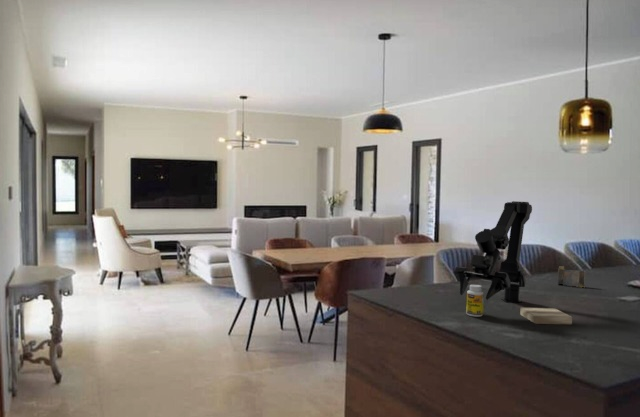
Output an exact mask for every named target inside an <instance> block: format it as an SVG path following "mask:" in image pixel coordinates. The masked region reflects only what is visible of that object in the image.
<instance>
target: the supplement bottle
mask: <svg viewBox="0 0 640 417" xmlns="http://www.w3.org/2000/svg"><path fill="white" fill-rule="evenodd" d="M484 299H485V293H484V292H483V286H482V285H479V284H470V285H469V290H467V291H466V311H465V314H466V315H467V316H470V317H475V318H477V317H478V318H479V317H482V316H483V315H484V304H485V303H484V301H485V300H484Z"/></svg>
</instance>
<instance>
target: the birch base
mask: <svg viewBox="0 0 640 417" xmlns="http://www.w3.org/2000/svg"><path fill="white" fill-rule="evenodd" d="M519 309H520V312H519V313H520V314H519V315H520V316H522V317H523V318H525V319H527V320H529V321H530V322H532V323H533V324H536V325H539V324H543V325H544V324H545V325H573V316H571V315H569V314H568V313H565V312H563V311H561V310H559V309H557V308H555V307H554V308H553V307H552V308H551V307H548V308H547V307H520V308H519Z"/></svg>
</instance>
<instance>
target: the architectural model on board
mask: <svg viewBox="0 0 640 417" xmlns="http://www.w3.org/2000/svg"><path fill="white" fill-rule="evenodd" d="M559 284H563V285H567V286H566V287H572V286H576V287H575V288H582V287H584V288H583V289H585V286H586V271H585V270H573V269H565V266H564V265H563V266H562V265H561V266H560V265H558V270H557V285H559ZM563 285H562V286H563Z"/></svg>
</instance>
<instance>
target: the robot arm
mask: <svg viewBox="0 0 640 417" xmlns="http://www.w3.org/2000/svg"><path fill="white" fill-rule="evenodd" d="M532 211H533V206H532V204H530V202H529V201H514V200H513V201H510V202H508V201H507V202H505V203H504V206H503V209H502V212H501V215H500V216H499V219H498V221H497V223H496V225H495V227H493V228H491V229H490V228H483V230H482V231H479V232H477V233H476V234H475V236H474V240H475V241H476V245H477V248H478V249H479V251H480V252H481V253H482V254H481V255H479V254H471V256H470V262H469V264H470V265H472V268H471V269H472V270H473V271H469V270H468V268H467V267H466V266H465V267H464V266H456V267H455V268H454V270H453V273H454V276H455V279H456V280H457V281H458V282H459V295H461V296H463V295H464V293H465V291H466V289H467V288H468V286H469V281H470V280H471V279H476V280H480V281H485V282H491V283H490V286H489V287H488V291H487V292H486V296H485V299H486V300H489V299H490V298H492V297H493V296H495V295H496V294H498V293H499V292H500V291H503V296H502V297H500V299H501V300H502V301H504V302H506V303H523V300H521V299H520V296H521V295H520V292H521V291H520V290H521V289H520V288H525V287H526V282H527V280H526V278H525V275H524V272H523V266H522V264H521V262H520V258H521V251H522V250H521V249H522V241H523V237H524V236H523V234H524V227H525V224H527V222H528V221H529V220H530V218H531V214H532ZM508 234H509V236H508ZM506 249H507V253H506V258H505V259H504V260H503V261H501V252H500V250H501V251H502V250H506ZM498 261H501V262H500V268H499V270H498V271H496V266H497V263H498ZM493 273H494V275H493Z"/></svg>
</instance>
